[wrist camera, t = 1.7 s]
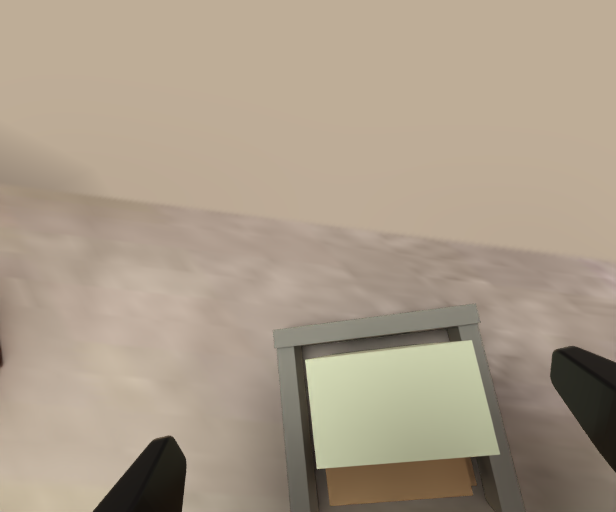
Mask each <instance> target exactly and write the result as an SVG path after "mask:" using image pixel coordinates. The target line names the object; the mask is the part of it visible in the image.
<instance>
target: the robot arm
mask: <svg viewBox="0 0 616 512" xmlns="http://www.w3.org/2000/svg"><path fill="white" fill-rule="evenodd" d="M550 377H551V381H552V384H553V386H554V387H555V389H556V390H557V392H558V393H559V395H560V396H561V398H562V399H563V400H564V402H565V403H566V405H567V406H568V408H569V409H570V411H571V412H572V414H573V415H574V416H575V418H576V419H577V421H578V422H579V424H580V425H581V427H582V428H583V430H584V431H585V432H586V434H587V435H588V437H589V438H590V440H591V441H592V443H593V444H594V445H595V447H596V448H597V449H598V451H599V452H600V454H601V455H602V456H603V457H604V459H605V460H606V461H607V462H608V464H609V465H610V466H611V467H612V469H613V470H614V471H615V472H616V362H613V361H611V360H608V359H606V358H604V357H601V356H599V355H596V354H594V353H591V352H589V351H586V350H584V349H581V348H579V347H575V346H568V347H564V348H559V349H556V350H555V351H554V352H553V354H552V363H551V372H550ZM185 476H186V458H185V456H184V454H183V452H182V451H181V449H180V447H179V446H178V444H177V442H176V440H175V439H174V438H173V437H172V436H165V437H160V438H156V439H154V440H153V441H152V442H151V443H150V444H149V445H148V446H147V447H146V448H145V450H144V451H143V452H142V453H141V454H140V456H139V457H138V458H137V459H136V460H135V462H134V463H133V464H132V465H131V466H130V468H129V469H128V470H127V471H126V472H125V474H124V475H123V476H122V477H121V478H120V479H119V481H118V482H117V483H116V484H115V485H114V487H113V488H112V489H111V490H110V491H109V493H108V494H107V495H106V496H105V497H104V499H103V500H102V501H101V502H100V503H99V505H98V506H97V507H96V508H95V509H94V511H93V512H182V505H183V495H184V486H185Z"/></svg>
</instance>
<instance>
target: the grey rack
mask: <svg viewBox="0 0 616 512" xmlns="http://www.w3.org/2000/svg"><path fill="white" fill-rule="evenodd" d="M478 323H481V322H480V318H479V314H478V310H477V306H476V304H468V305H461V306H453V307H445V308H438V309H430V310H422V311H415V312H407V313H400V314H392V315H384V316H377V317H369V318H361V319H354V320H346V321H338V322H331V323H323V324H315V325H308V326H300V327H293V328H285V329H277V330H273V338H274V348H277V359H278V371H279V382H280V394H281V406H282V417H283V429H284V441H285V453H286V464H287V476H288V488H289V500H290V511H291V512H319V508H318V498H317V489H316V479H315V470H314V460H313V451H312V442H311V432H310V423H309V413H308V404H307V394H306V385H305V375H304V366H303V357H302V347H301V346H309V345H317V344H326V343H334V342H342V341H350V340H358V339H366V338H374V337H382V336H390V335H398V334H406V333H415V332H423V331H431V330H439V329H447V331H448V336H449V340H450V342H454V341H468V340H472V343H473V347H474V351H475V355H476V359H477V363H478V367H479V371H480V375H481V379H482V383H483V387H484V391H485V395H486V399H487V403H488V407H489V411H490V415H491V419H492V423H493V428H494V432H495V436H496V440H497V444H498V448H499V452H500V455H488V456H476V458H477V462H478V467H479V471H480V476H481V480H482V484H483V489H484V493H485V497H486V501H487V502H488V504H489V505H490V506H491V507H492V508H493V510H494V511H495V512H526V511H525V507H524V503H523V499H522V495H521V491H520V487H519V484H518V480H517V476H516V472H515V468H514V464H513V460H512V456H511V452H510V448H509V444H508V441H507V437H506V433H505V429H504V425H503V421H502V417H501V413H500V409H499V405H498V401H497V398H496V394H495V390H494V386H493V382H492V378H491V374H490V370H489V366H488V362H487V358H486V354H485V351H484V347H483V343H482V339H481V335H480V331H479V327H478Z"/></svg>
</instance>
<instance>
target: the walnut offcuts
mask: <svg viewBox="0 0 616 512" xmlns="http://www.w3.org/2000/svg"><path fill="white" fill-rule="evenodd" d="M325 469H326V478H327V486H328V494H329V502H330V506H338V505H351V504H365V503H378V502H391V501H405V500H418V499H431V498H445V497H458V496H471V495H473V492H472V487H471V486H476V485H477V483H476V479H475V475H474V470H473V466H472V462H471V458H470V457H463V458H450V459H437V460H425V461H412V462H399V463H387V464H374V465H361V466H349V467H336V468H325Z"/></svg>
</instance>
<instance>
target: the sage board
mask: <svg viewBox="0 0 616 512" xmlns="http://www.w3.org/2000/svg"><path fill="white" fill-rule="evenodd" d="M305 363H306V372H307V381H308V391H309V400H310V409H311V419H312V428H313V437H314V446H315V456H316V465H317V469H323V468H336V467H349V466H361V465H374V464H387V463H399V462H412V461H425V460H437V459H450V458H463V457H476V456H488V455H500V452H499V448H498V444H497V440H496V436H495V432H494V428H493V423H492V419H491V415H490V411H489V407H488V403H487V399H486V395H485V391H484V387H483V383H482V379H481V375H480V371H479V367H478V363H477V359H476V355H475V351H474V347H473V343H472V340H468V341H454V342H441V343H428V344H415V345H406V346H398V347H390V348H381V349H373V350H364V351H356V352H348V353H339V354H332V355H327V356H322V357H317V358H312V359H307V360H305Z"/></svg>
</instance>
